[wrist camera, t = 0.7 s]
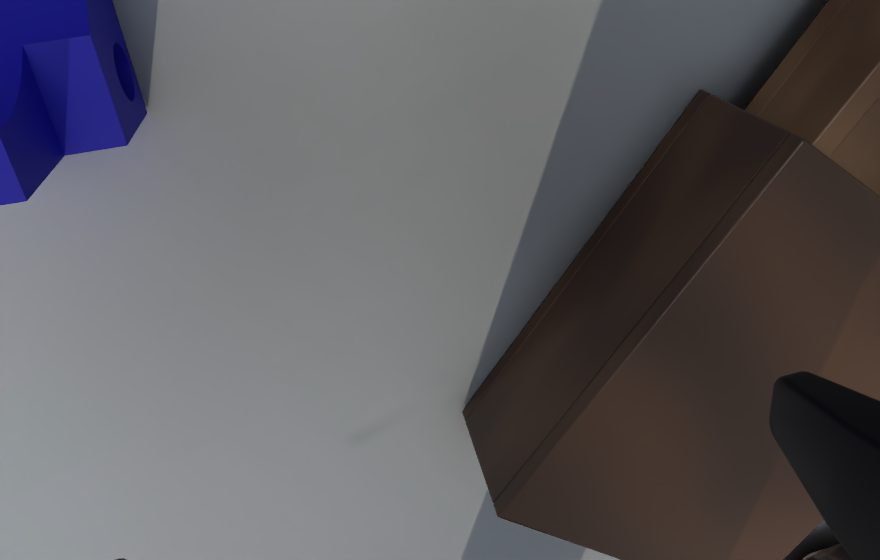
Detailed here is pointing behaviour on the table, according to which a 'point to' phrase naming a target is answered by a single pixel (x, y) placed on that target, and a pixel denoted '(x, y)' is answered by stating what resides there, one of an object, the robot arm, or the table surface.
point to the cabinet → (688, 350)
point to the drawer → (832, 88)
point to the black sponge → (829, 554)
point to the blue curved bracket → (61, 88)
